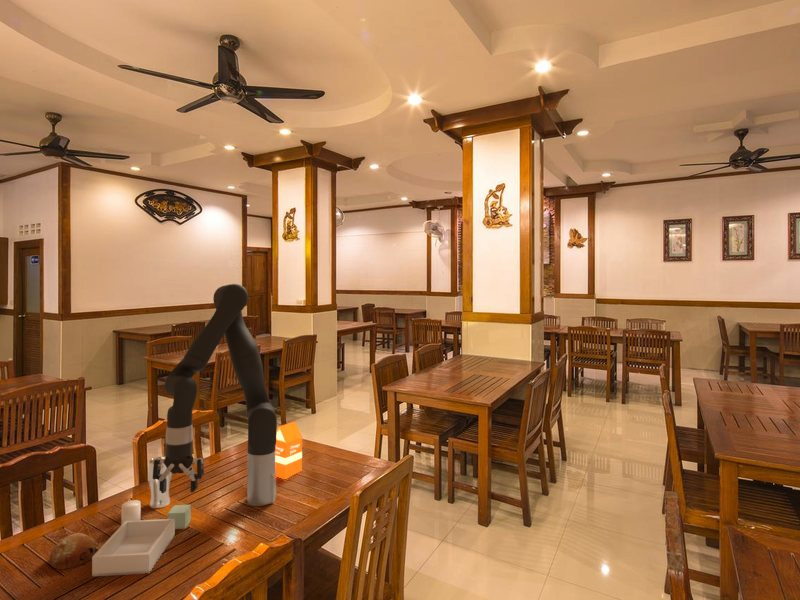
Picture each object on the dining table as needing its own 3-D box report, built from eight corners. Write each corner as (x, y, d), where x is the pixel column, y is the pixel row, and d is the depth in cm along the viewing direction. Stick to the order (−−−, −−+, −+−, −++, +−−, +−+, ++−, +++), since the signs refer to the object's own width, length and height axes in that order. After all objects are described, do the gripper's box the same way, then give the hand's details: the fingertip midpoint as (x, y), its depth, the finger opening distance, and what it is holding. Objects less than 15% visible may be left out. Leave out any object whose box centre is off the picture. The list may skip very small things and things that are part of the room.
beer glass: (161, 510, 148) (161, 465, 147) (143, 507, 149) (143, 463, 149) (176, 500, 155) (176, 457, 154) (158, 498, 156) (158, 455, 156)
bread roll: (74, 560, 127) (60, 535, 126) (108, 544, 127) (96, 519, 127) (49, 583, 117) (35, 556, 116) (87, 565, 117) (73, 538, 117)
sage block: (190, 520, 142) (190, 504, 142) (185, 528, 137) (185, 512, 137) (173, 521, 142) (173, 505, 141) (167, 529, 137) (167, 513, 137)
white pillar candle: (143, 522, 141) (143, 499, 140) (136, 530, 136) (136, 507, 135) (126, 522, 140) (126, 500, 140) (118, 531, 135) (118, 508, 135)
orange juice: (302, 472, 179) (302, 422, 179) (285, 480, 172) (285, 428, 171) (288, 468, 183) (288, 419, 183) (271, 475, 176) (271, 424, 175)
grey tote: (174, 535, 133) (174, 518, 133) (149, 573, 116) (149, 554, 116) (125, 537, 132) (125, 520, 132) (92, 576, 114) (92, 557, 114)
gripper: (207, 435, 143) (206, 486, 144) (160, 435, 142) (159, 486, 142) (199, 443, 136) (198, 497, 136) (149, 444, 134) (148, 497, 135)
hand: (178, 491), depth 139 cm, fingers open, 8 cm apart
